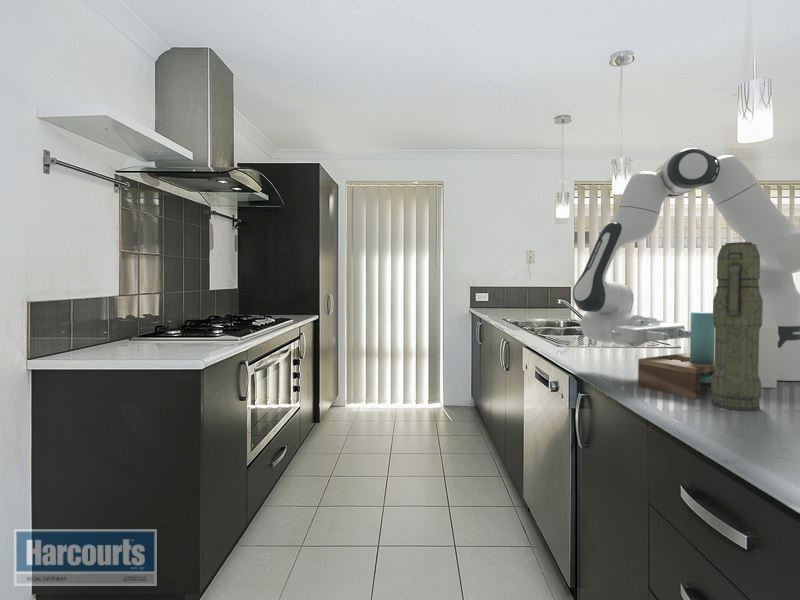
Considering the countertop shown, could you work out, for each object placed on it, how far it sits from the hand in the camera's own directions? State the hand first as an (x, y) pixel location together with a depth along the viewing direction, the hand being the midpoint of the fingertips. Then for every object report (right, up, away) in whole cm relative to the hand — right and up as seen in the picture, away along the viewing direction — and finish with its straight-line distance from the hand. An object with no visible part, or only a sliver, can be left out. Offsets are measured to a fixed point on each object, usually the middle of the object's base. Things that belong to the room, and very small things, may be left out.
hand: (678, 335), depth 125 cm
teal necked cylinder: (+3, -11, -5) cm, 12 cm away
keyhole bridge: (+2, -13, -2) cm, 13 cm away
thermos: (+2, -14, -18) cm, 23 cm away
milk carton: (+19, -13, 0) cm, 23 cm away
